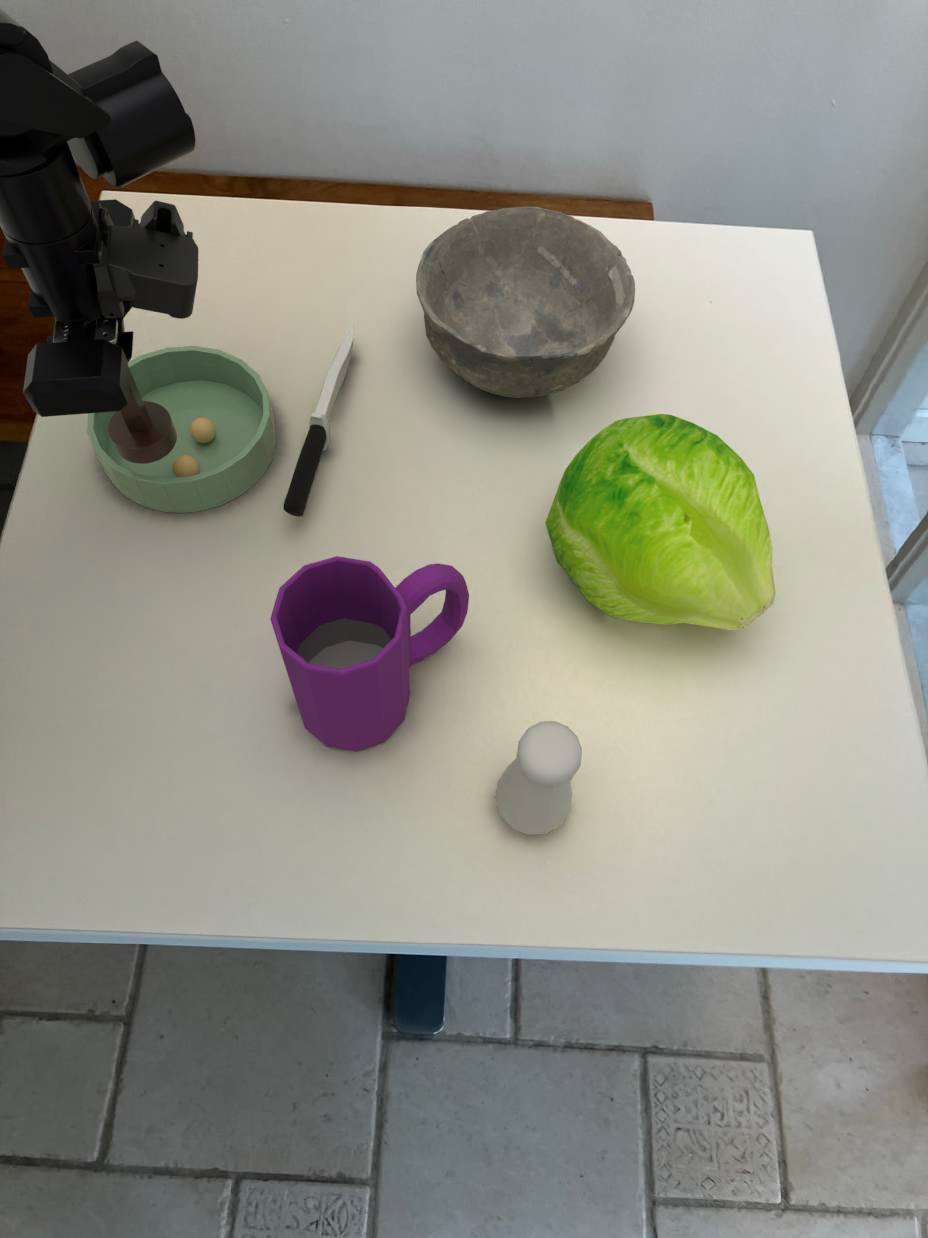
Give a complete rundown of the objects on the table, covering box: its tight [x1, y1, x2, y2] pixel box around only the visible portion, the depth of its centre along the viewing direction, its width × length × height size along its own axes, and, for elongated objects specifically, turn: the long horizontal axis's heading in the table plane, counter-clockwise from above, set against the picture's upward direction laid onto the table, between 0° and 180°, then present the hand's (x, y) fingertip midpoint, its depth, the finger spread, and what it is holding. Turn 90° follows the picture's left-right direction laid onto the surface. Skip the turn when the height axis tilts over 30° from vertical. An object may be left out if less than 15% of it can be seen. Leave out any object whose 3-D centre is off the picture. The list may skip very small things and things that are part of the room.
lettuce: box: [544, 413, 776, 631], centre depth 73 cm, size 17×20×15 cm
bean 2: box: [189, 417, 216, 443], centre depth 83 cm, size 2×2×2 cm
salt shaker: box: [494, 720, 583, 836], centre depth 63 cm, size 6×6×13 cm
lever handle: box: [108, 367, 177, 464], centre depth 71 cm, size 5×5×11 cm
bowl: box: [415, 206, 636, 399], centre depth 87 cm, size 21×21×10 cm
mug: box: [270, 555, 470, 752], centre depth 67 cm, size 9×16×15 cm, turn 126°
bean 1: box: [172, 455, 200, 477], centre depth 81 cm, size 2×2×2 cm
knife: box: [282, 322, 355, 517], centre depth 84 cm, size 25×2×5 cm, turn 171°
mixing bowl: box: [86, 345, 277, 514], centre depth 82 cm, size 16×16×4 cm
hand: (121, 386), depth 70 cm, fingers closed on lever handle
